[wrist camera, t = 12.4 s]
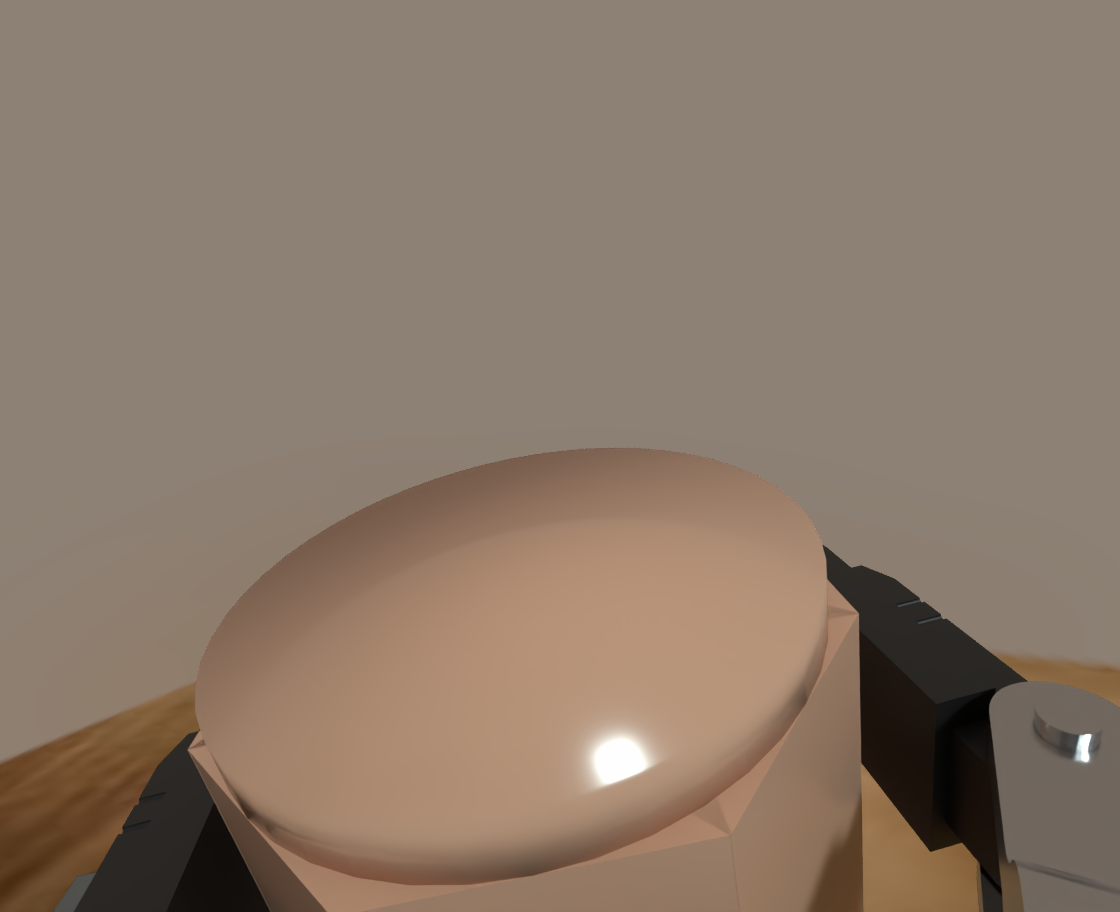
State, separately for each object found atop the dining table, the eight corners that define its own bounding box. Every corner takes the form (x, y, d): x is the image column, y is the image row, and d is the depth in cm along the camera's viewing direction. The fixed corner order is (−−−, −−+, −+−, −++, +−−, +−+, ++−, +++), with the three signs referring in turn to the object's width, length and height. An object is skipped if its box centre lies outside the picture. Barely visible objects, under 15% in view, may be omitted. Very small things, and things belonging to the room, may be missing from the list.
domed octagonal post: (419, 1480, 7) (2, 917, 4) (460, 913, 14) (312, 498, 10) (953, 1362, 8) (1016, 708, 4) (752, 852, 14) (707, 419, 10)
